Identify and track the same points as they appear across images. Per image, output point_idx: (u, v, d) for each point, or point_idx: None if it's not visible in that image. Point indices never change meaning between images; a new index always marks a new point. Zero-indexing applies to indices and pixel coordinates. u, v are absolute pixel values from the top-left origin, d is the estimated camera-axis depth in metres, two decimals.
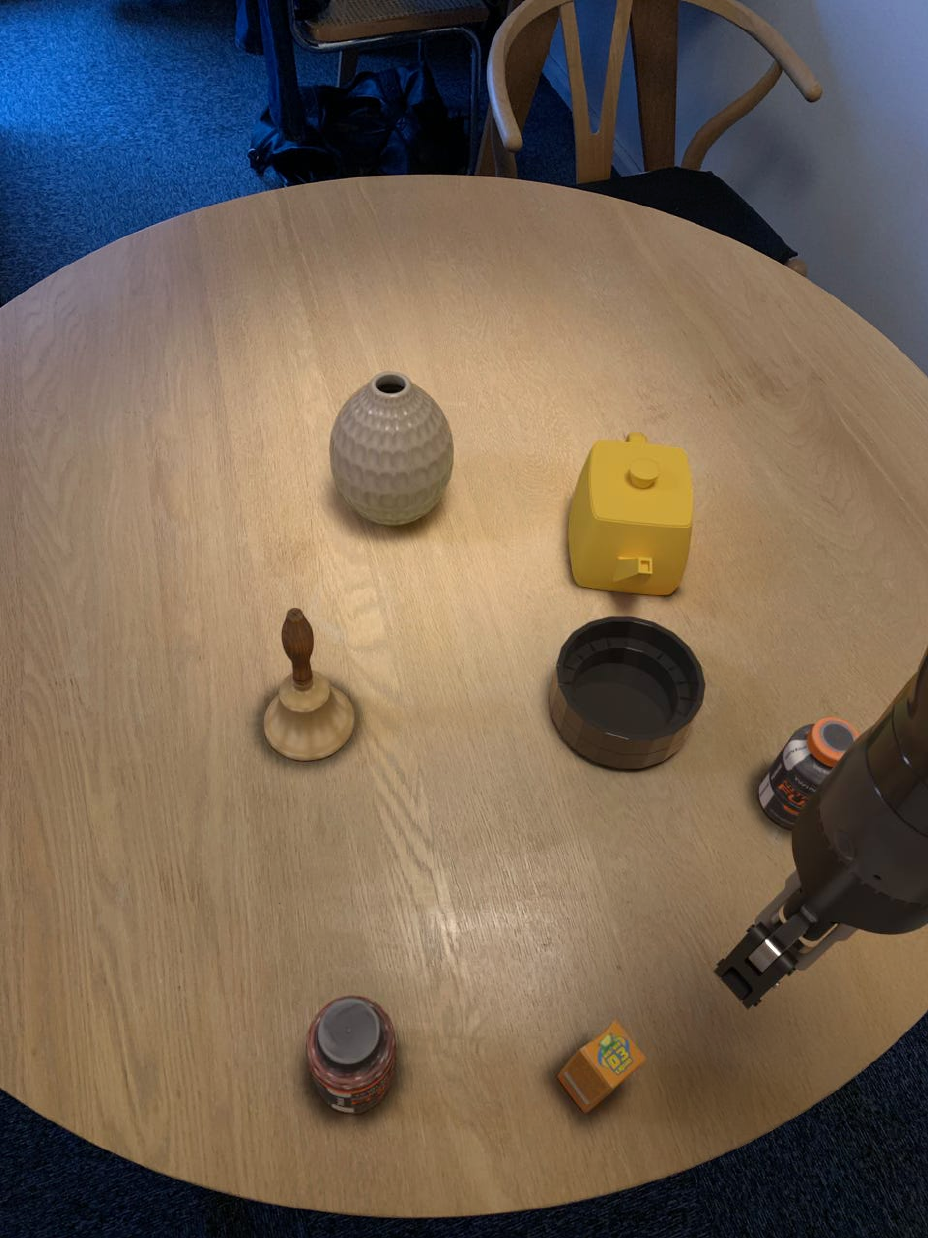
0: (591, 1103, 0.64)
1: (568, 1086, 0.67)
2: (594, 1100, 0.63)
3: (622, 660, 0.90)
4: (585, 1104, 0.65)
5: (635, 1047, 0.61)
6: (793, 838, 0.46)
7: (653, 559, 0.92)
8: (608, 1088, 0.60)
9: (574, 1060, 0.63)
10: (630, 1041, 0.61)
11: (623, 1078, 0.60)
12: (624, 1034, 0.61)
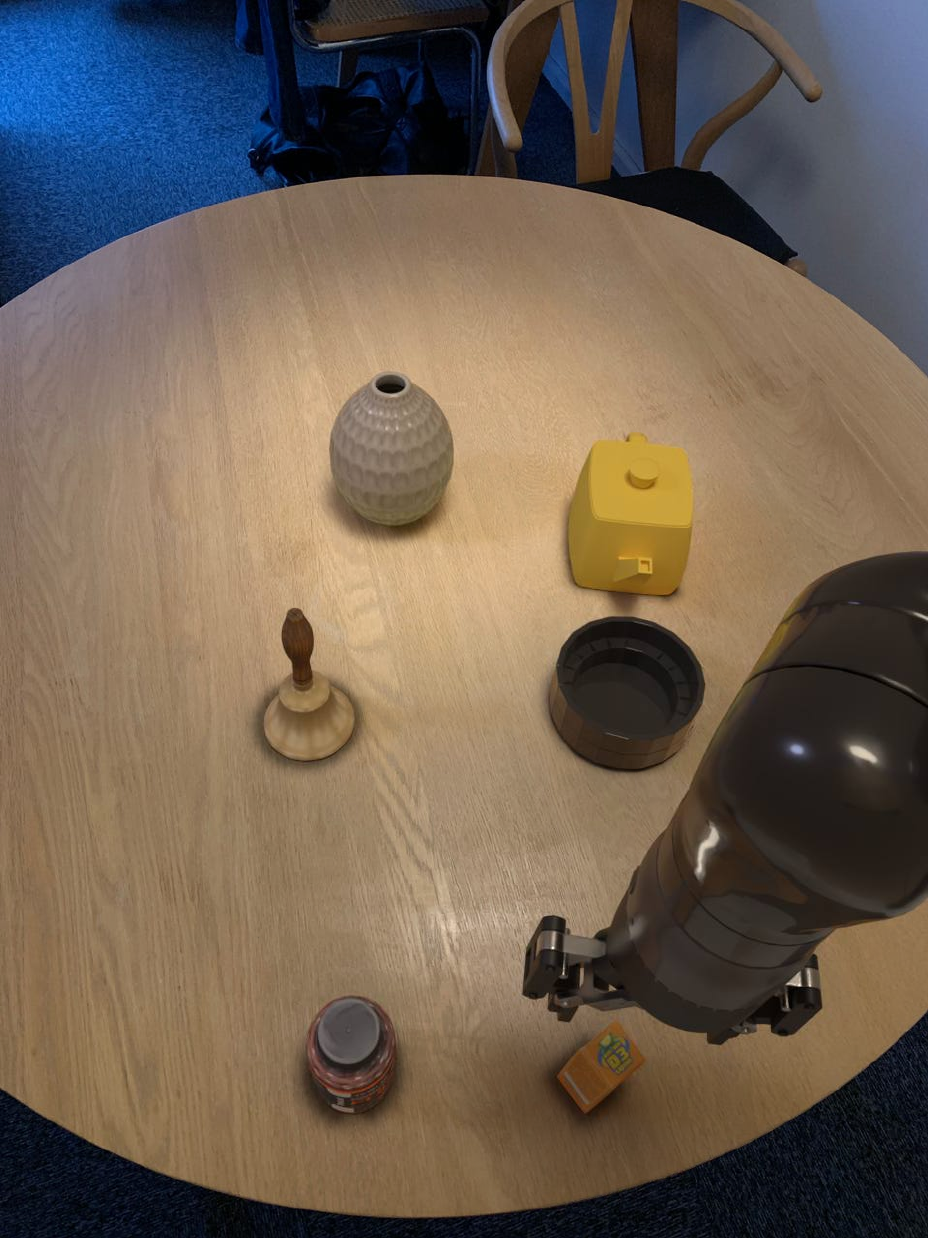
0: (591, 1103, 0.64)
1: (568, 1086, 0.67)
2: (594, 1100, 0.63)
3: (622, 660, 0.90)
4: (585, 1104, 0.65)
5: (635, 1047, 0.61)
6: None
7: (653, 559, 0.92)
8: (608, 1088, 0.60)
9: (574, 1060, 0.63)
10: (630, 1041, 0.61)
11: (623, 1078, 0.60)
12: (624, 1034, 0.61)
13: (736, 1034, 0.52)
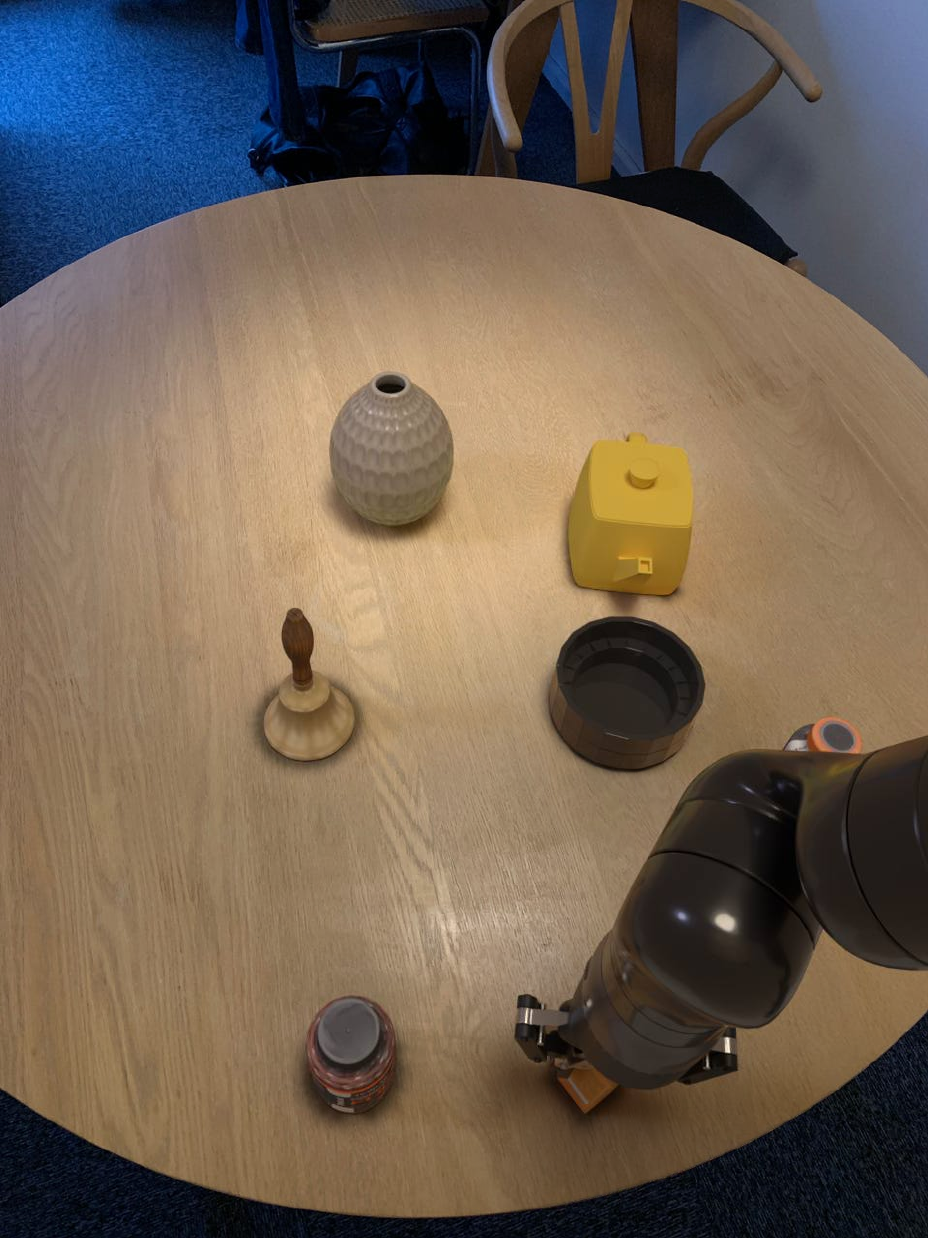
0: (590, 1103, 0.64)
1: (568, 1086, 0.67)
2: (593, 1100, 0.63)
3: (622, 660, 0.90)
4: (585, 1104, 0.65)
5: None
6: None
7: (653, 559, 0.92)
8: (606, 1088, 0.60)
9: None
10: None
11: None
12: None
13: None
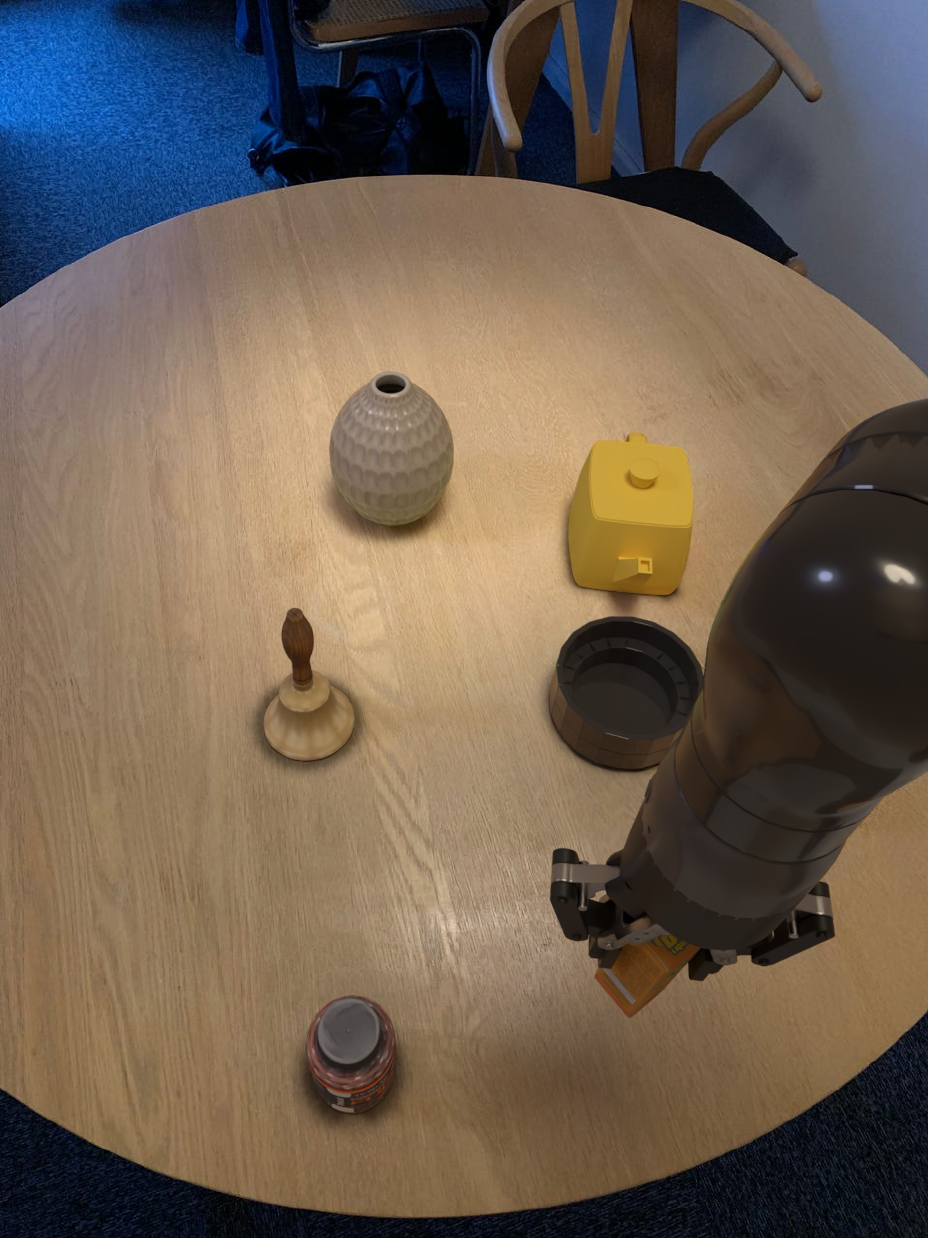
0: (638, 1000, 0.52)
1: (608, 985, 0.55)
2: (642, 995, 0.52)
3: (622, 660, 0.90)
4: (630, 1004, 0.54)
5: None
6: None
7: (653, 559, 0.92)
8: (663, 972, 0.48)
9: None
10: None
11: (681, 959, 0.48)
12: None
13: (718, 969, 0.51)
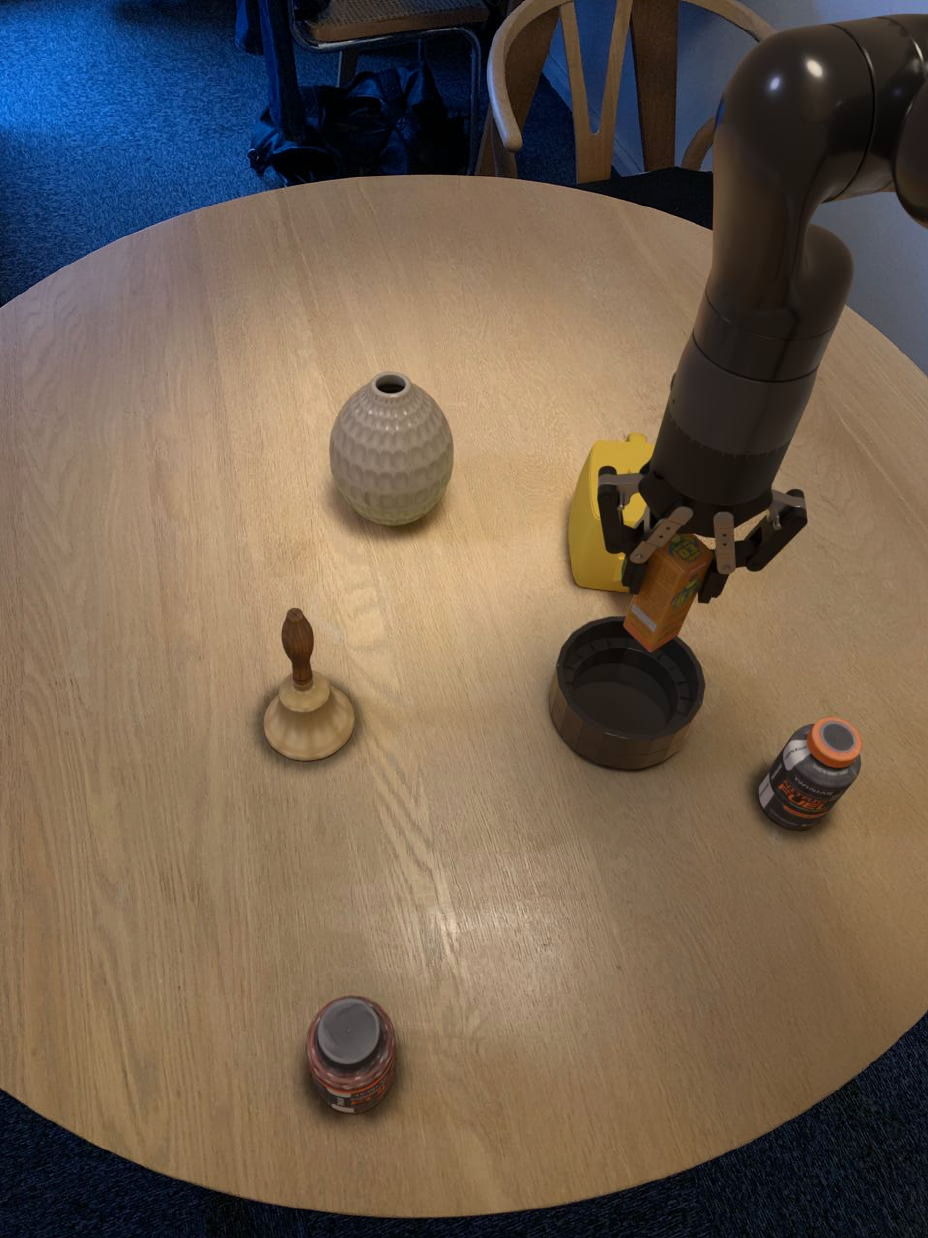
0: (659, 624, 0.68)
1: (634, 625, 0.71)
2: (662, 614, 0.67)
3: (622, 660, 0.90)
4: (652, 633, 0.69)
5: (703, 544, 0.64)
6: None
7: None
8: (679, 575, 0.63)
9: None
10: (698, 540, 0.65)
11: (693, 565, 0.63)
12: (692, 535, 0.65)
13: (720, 589, 0.66)
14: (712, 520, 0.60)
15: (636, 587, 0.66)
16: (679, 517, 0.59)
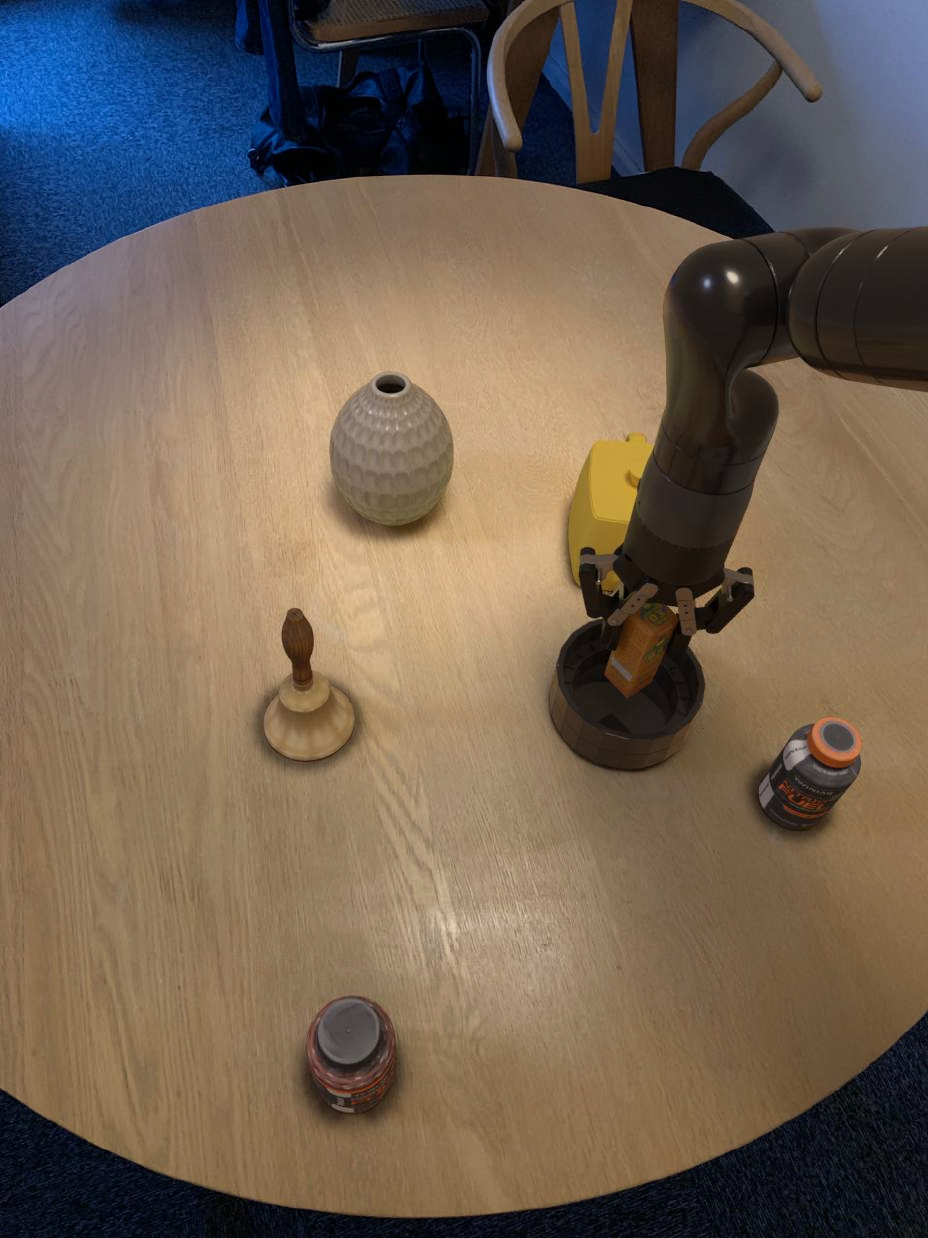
0: (633, 675, 0.80)
1: (614, 674, 0.82)
2: (636, 667, 0.79)
3: None
4: (628, 682, 0.81)
5: (670, 609, 0.76)
6: None
7: None
8: (649, 637, 0.75)
9: None
10: (666, 606, 0.76)
11: (661, 628, 0.75)
12: None
13: (685, 647, 0.78)
14: (675, 593, 0.72)
15: (613, 645, 0.78)
16: (647, 591, 0.71)
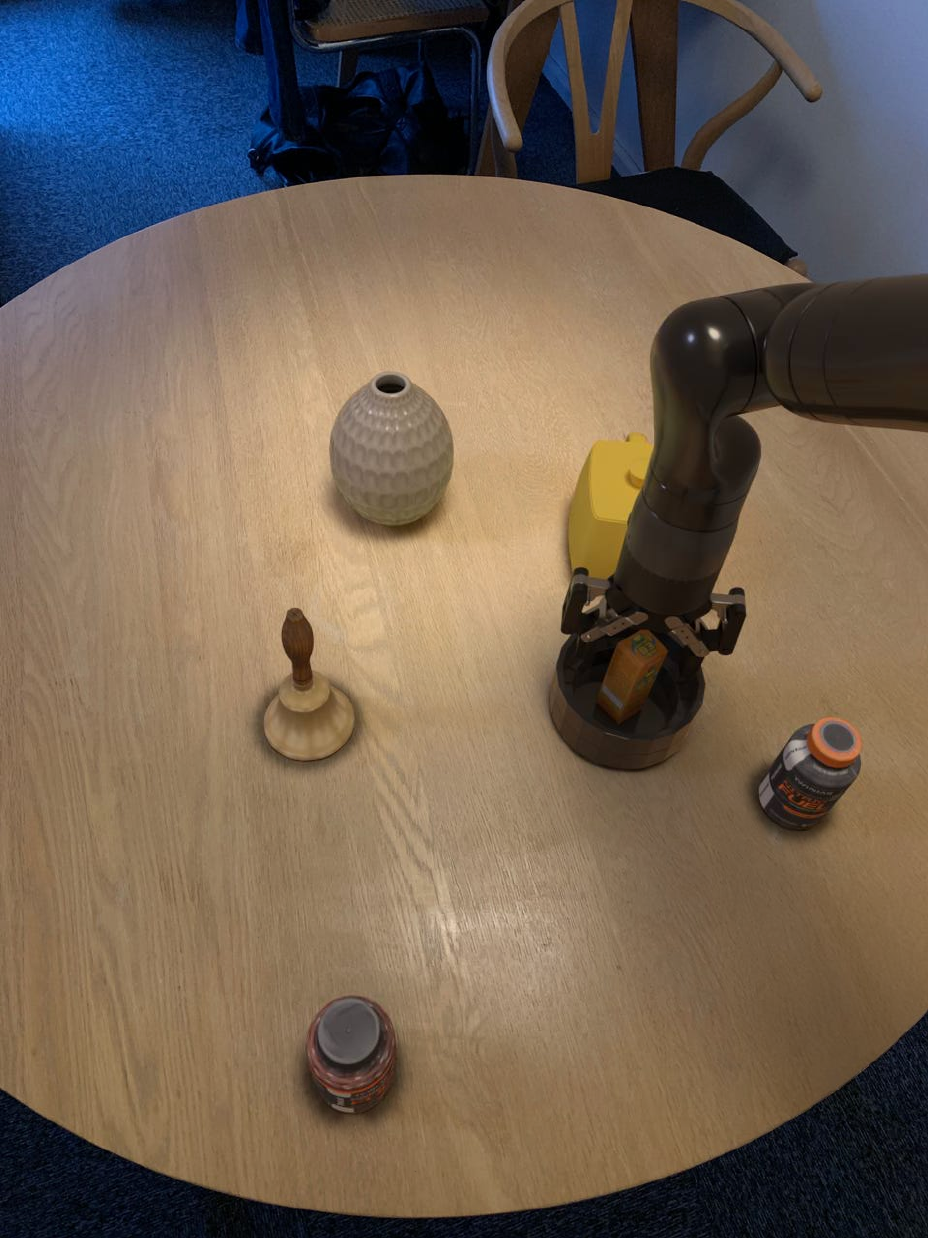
0: (624, 703, 0.83)
1: (605, 702, 0.86)
2: (627, 696, 0.82)
3: None
4: (619, 709, 0.84)
5: (659, 642, 0.80)
6: None
7: None
8: (639, 668, 0.79)
9: (612, 662, 0.82)
10: (655, 638, 0.80)
11: (650, 660, 0.79)
12: (651, 634, 0.80)
13: (698, 667, 0.80)
14: None
15: (588, 660, 0.80)
16: (637, 619, 0.74)
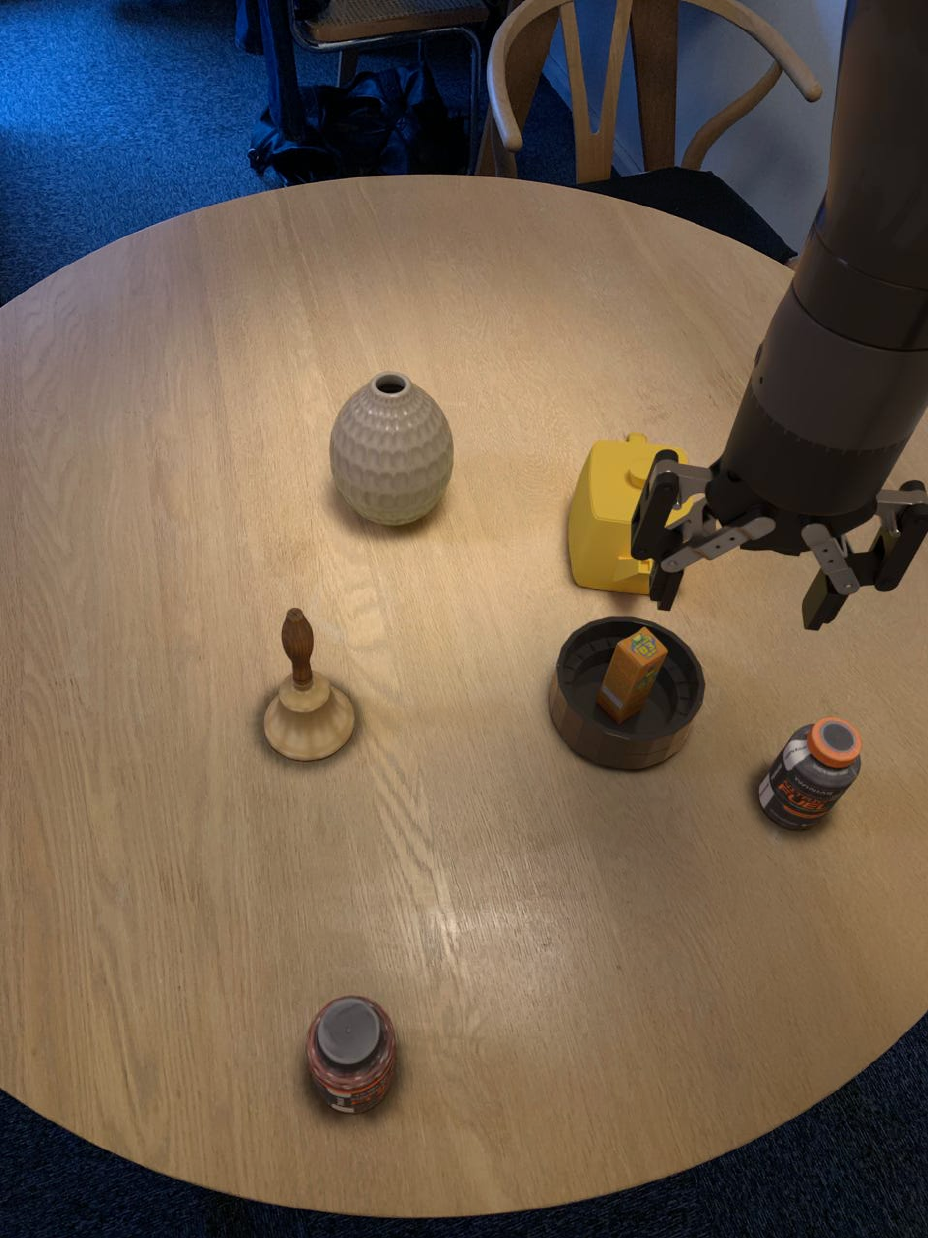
0: (624, 703, 0.83)
1: (605, 702, 0.86)
2: (627, 696, 0.82)
3: None
4: (619, 709, 0.84)
5: (659, 642, 0.80)
6: None
7: None
8: (639, 668, 0.79)
9: (612, 662, 0.82)
10: (655, 638, 0.80)
11: (650, 660, 0.79)
12: (651, 634, 0.80)
13: (835, 613, 0.53)
14: None
15: (668, 602, 0.53)
16: (757, 530, 0.47)
